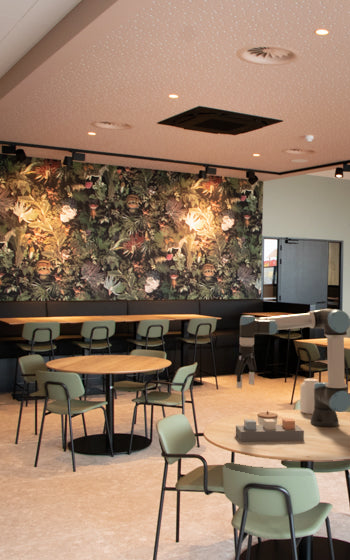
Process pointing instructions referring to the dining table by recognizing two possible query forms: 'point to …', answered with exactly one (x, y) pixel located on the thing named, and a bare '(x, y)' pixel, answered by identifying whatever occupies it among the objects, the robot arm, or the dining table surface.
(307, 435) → the dining table surface
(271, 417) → the lidded jar
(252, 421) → the grey cube
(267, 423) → the key ivory
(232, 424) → the dining table surface
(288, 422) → the key terracotta
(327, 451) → the dining table surface
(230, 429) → the dining table surface
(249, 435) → the console
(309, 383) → the can
